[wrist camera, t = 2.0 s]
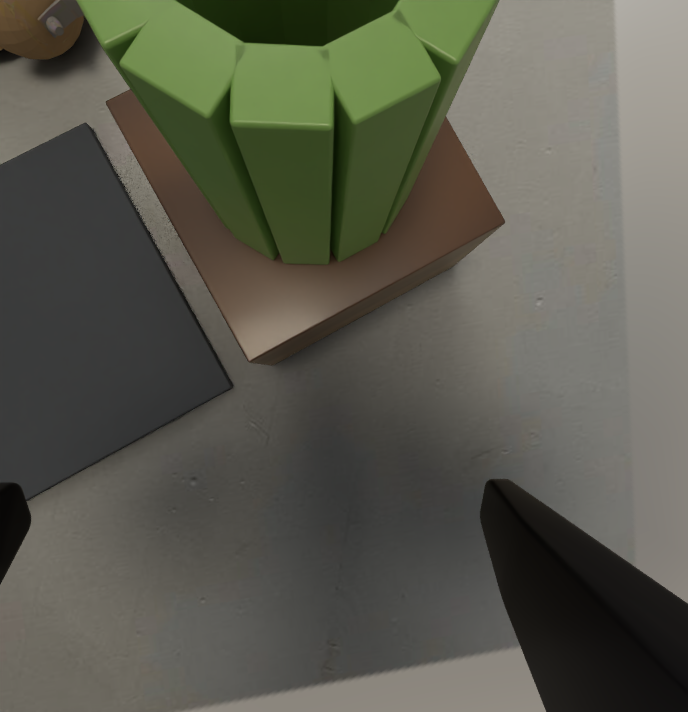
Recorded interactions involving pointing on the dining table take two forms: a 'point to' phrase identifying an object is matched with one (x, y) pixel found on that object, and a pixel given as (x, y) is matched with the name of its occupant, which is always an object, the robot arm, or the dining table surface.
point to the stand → (337, 279)
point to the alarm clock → (39, 27)
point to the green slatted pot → (296, 105)
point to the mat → (86, 318)
